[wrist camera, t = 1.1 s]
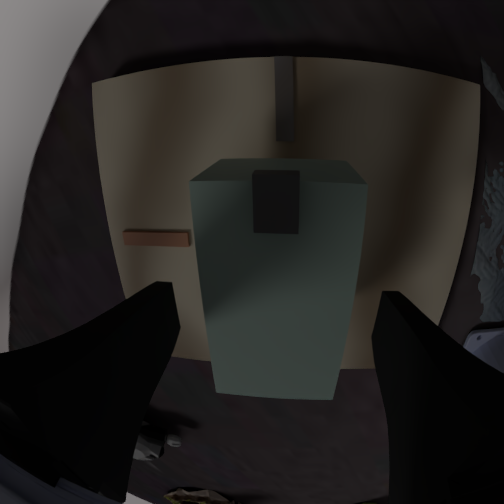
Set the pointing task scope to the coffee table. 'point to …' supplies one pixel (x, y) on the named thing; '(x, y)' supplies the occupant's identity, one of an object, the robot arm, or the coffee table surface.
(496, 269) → the stuffed giraffe
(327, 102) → the base
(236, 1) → the coffee table surface
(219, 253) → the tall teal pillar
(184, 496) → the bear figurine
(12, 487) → the robot arm
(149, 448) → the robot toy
